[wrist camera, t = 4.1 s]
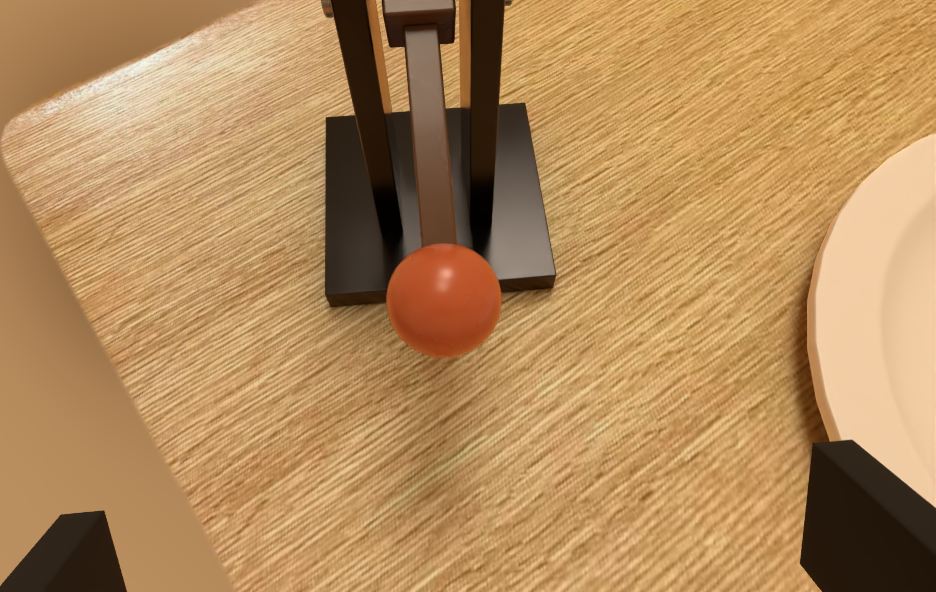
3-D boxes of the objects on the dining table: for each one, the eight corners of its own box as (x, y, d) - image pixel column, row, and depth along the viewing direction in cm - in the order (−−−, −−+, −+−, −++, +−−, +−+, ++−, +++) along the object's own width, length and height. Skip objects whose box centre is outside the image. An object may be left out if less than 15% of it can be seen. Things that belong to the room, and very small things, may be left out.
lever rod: (501, 350, 22) (512, 355, 19) (395, 359, 22) (386, 366, 19) (467, -29, 23) (472, -95, 19) (363, -22, 23) (349, -88, 19)
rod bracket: (553, 288, 30) (613, 43, 17) (330, 307, 29) (229, 70, 17) (523, 118, 34) (554, -171, 22) (330, 133, 34) (250, -154, 21)
